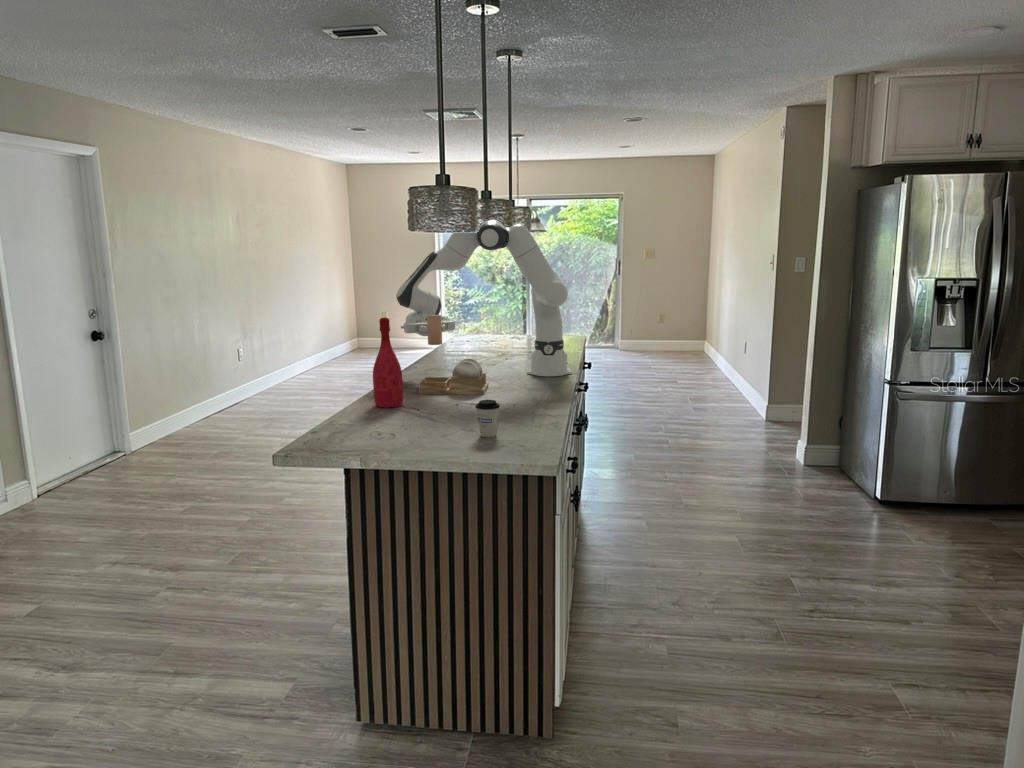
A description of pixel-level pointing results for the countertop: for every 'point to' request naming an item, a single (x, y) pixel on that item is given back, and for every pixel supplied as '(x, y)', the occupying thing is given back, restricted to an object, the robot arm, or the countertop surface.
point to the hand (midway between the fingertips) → (435, 328)
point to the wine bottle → (387, 372)
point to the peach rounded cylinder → (434, 329)
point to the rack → (457, 380)
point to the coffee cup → (488, 417)
